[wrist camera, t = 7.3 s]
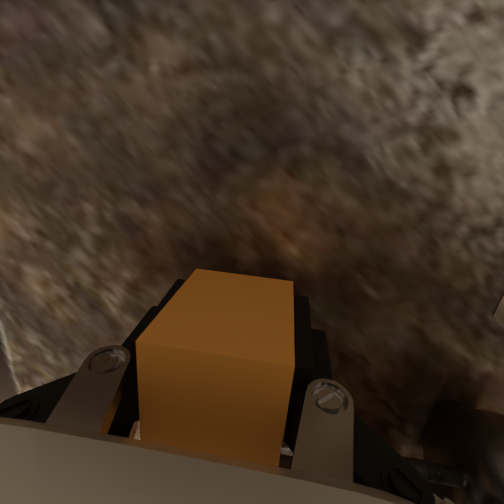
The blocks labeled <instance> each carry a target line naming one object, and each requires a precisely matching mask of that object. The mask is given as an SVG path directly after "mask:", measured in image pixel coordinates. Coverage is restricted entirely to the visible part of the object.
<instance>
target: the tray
mask: <svg viewBox="0 0 504 504" xmlns="http://www.w3.org/2000/svg"><path fill="white" fill-rule="evenodd" d="M493 318H494V319H495V320H496V321H497V322H499V323H500V324H501V325H502V326H503V327H504V295H503V297H502V299H501V301H500V303H499V305H498V307H497V309H496V311H495V313H494V315H493Z"/></svg>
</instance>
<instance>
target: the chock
mask: <svg viewBox="0 0 504 504" xmlns="http://www.w3.org/2000/svg"><path fill="white" fill-rule="evenodd" d="M136 359H137V379H138V398H139V418H140V438H141V441H146V442H152V443H157V444H162V445H167V446H173V447H178V448H183V449H188V450H194V451H199V452H204V453H209V454H215V455H220V456H225V457H230V458H235V459H240V460H245V461H250V462H256V463H261V464H266V465H271V466H276V467H278V466H279V460H280V453H281V447H282V441H283V435H284V429H285V423H286V417H287V411H288V405H289V399H290V393H291V387H292V381H293V374H294V368H295V347H294V296H293V281H287V280H280V279H272V278H264V277H257V276H249V275H242V274H234V273H226V272H219V271H211V270H204V269H196V270H195V271H194V272H193V273H192V274H191V276H190V277H189V278H188V279H187V280H186V282H185V283H184V284H183V285H182V286H181V288H180V289H179V290H178V291H177V292H176V293H175V295H174V296H173V297H172V298H171V299H170V301H169V302H168V303H167V304H166V305H165V307H164V308H163V309H162V310H161V311H160V313H159V314H158V315H157V316H156V317H155V318H154V320H153V321H152V322H151V323H150V324H149V326H148V327H147V328H146V329H145V330H144V332H143V333H142V334H141V335H140V336H139V338H138V339H137V340H136Z"/></svg>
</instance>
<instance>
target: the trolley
mask: <svg viewBox="0 0 504 504" xmlns="http://www.w3.org/2000/svg"><path fill="white" fill-rule="evenodd" d="M280 454H284V455H289V456H292V455H293V452H292V451H291V450H290V448H289V447H288V446H287V445H286V443H285V442H283V441H282V447H281V453H280ZM402 457H403V456H402ZM423 457H424V460H419V459H414V458H408V457H403V458H404V459H405V460H407V461H408V462H409V463H410V464H411V465H412V466H413V467H414V468H415V469H417V470H418V471H419V473H420V474H421V475H422V476H423V477H424V478H425V479H426V481H427V483H428V484H429V486H430V487H431V489H432V492H433V494H435V495H436V496H437V497H439V498H440V499H442V500H444V499H445V497H446V498H447V499H449V500H450V501H452V502H453V503H454V504H504V415H502V414H500V413H497V412H494V411H488V410H482V409H476V408H470V407H464V406H458V405H452V404H442V405H440V406H438V407H437V408H435V409H434V411H433V412H432V413H431V415H430V417H429V419H428V422H427V425H426V428H425V434H424V445H423Z"/></svg>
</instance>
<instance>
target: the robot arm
mask: <svg viewBox="0 0 504 504" xmlns="http://www.w3.org/2000/svg"><path fill="white" fill-rule="evenodd" d="M185 282H186V280H182V279H178V280H177V281H176V282H175V283H174V285H173V286H172V287H171V289H170V290H169V291H168V293H167V294H166V295H165V297H164V298H163V299H162V301H161V302H160V303H159V304H158V306H153V307H151V308H150V310H149V311H148V312H147V313H146V315H145V316H144V317H143V319H142V320H141V321H140V322H139V324H138V325H137V326H136V328H135V329H134V330H133V331H132V333H131V334H130V335H129V337H128V338H127V339H126V340H125V342H124V343H123V344H122V346H118V345H111V346H106V347H102V348H100V349H97V350H95V351H94V352H92V353H91V354H90V355H88V357H87V358H86V359H85V360H84V362H83V363H82V365H81V367H80V368H79V370H78V371H77V372H76V373H73V374H71V375H68V376H66V377H63V378H60V379H58V380H55V381H52V382H50V383H47V384H45V385H42V386H39V387H37V388H34V389H31V390H29V391H26V392H24V393H21V394H18V395H16V396H13V397H11V398H9V399H7V400H5V401H4V402H2V403H1V404H0V504H454V503H453V502H452V501H450V500H449V499H447V498H446V497H445V499H444V500H442V499H440V498H439V497H437V496H436V495H435V494H433V492H432V489H431V487H430V486H429V484H428V483H427V481H426V479H425V478H424V477H423V476H422V475H421V474H420V473H419V471H418V470H417V469H415V468H414V467H413V466H412V465H411V464H410V463H409V462H408V461H407V460H405V459H404V458H403V457H402V456H401V455H400V454H399V453H398V452H396V451H395V450H394V449H393V448H392V447H391V446H390V445H389V444H388V443H386V442H385V441H384V440H383V439H382V438H381V437H380V436H379V435H377V434H376V433H375V432H374V431H373V430H372V429H371V428H370V427H369V426H367V425H366V424H365V423H364V422H363V421H362V420H361V419H360V418H358V417H357V416H356V415H355V414H354V404H353V399H352V397H351V395H350V393H349V392H348V391H347V389H346V388H345V387H343V386H342V385H341V384H339V383H338V382H335V381H333V380H332V374H331V367H330V360H329V354H328V347H327V340H326V334H325V331H323V330H316V329H311V323H310V310H309V298H308V297H307V296H300V295H295V298H294V347H295V368H294V374H293V381H292V387H291V393H290V399H289V405H288V411H287V417H286V423H285V429H284V435H283V442H285V443H286V445H287V446H288V447H289V448H290V450H291V451H292V452H293V455H292V460H291V465H290V469H286V468H281V467H276V466H271V465H266V464H261V463H256V462H250V461H245V460H240V459H235V458H230V457H225V456H220V455H215V454H209V453H204V452H199V451H194V450H188V449H183V448H178V447H173V446H167V445H162V444H157V443H152V442H146V441H141V440H136V439H134V436H135V433H136V430H137V427H138V421H139V420H140V418H139V398H138V379H137V359H136V340H137V339H138V338H139V336H140V335H141V334H142V333H143V332H144V330H145V329H146V328H147V327H148V326H149V324H150V323H151V322H152V321H153V320H154V318H155V317H156V316H157V315H158V314H159V313H160V311H161V310H162V309H163V308H164V307H165V305H166V304H167V303H168V302H169V301H170V299H171V298H172V297H173V296H174V295H175V293H176V292H177V291H178V290H179V289H180V288H181V286H182V285H183V284H184V283H185Z"/></svg>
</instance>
